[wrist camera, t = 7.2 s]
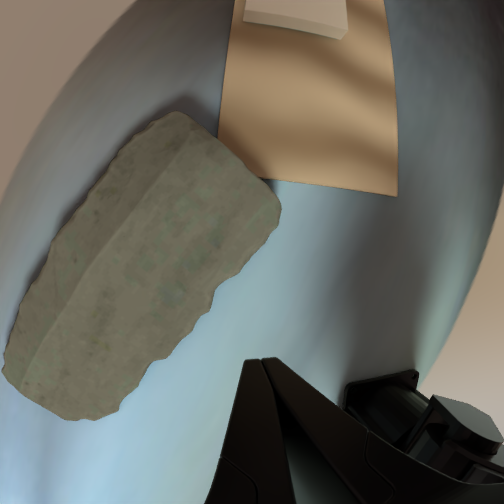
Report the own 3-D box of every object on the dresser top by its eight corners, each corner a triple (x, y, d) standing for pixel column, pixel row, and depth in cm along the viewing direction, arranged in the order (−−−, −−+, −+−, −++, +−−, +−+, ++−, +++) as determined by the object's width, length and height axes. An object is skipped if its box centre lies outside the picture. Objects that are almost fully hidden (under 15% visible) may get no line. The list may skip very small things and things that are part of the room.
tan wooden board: (394, 196, 20) (397, 196, 20) (213, 174, 18) (214, 173, 18) (380, -1, 19) (382, -3, 19) (240, -34, 17) (241, -37, 17)
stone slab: (285, 205, 20) (163, 101, 17) (301, 208, 17) (161, 87, 14) (98, 432, 20) (-4, 359, 17) (93, 455, 17) (-19, 376, 14)
